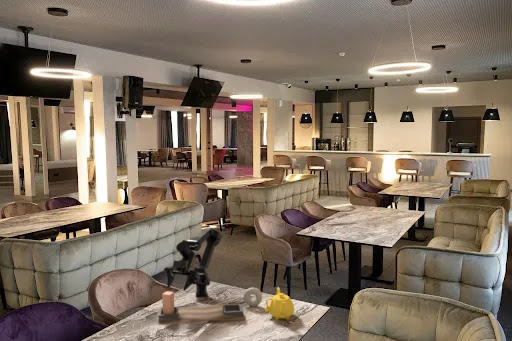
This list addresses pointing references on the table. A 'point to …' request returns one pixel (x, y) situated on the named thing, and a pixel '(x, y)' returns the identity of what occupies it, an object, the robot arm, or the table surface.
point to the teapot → (280, 306)
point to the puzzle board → (203, 314)
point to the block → (168, 302)
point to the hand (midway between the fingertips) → (175, 289)
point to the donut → (250, 301)
